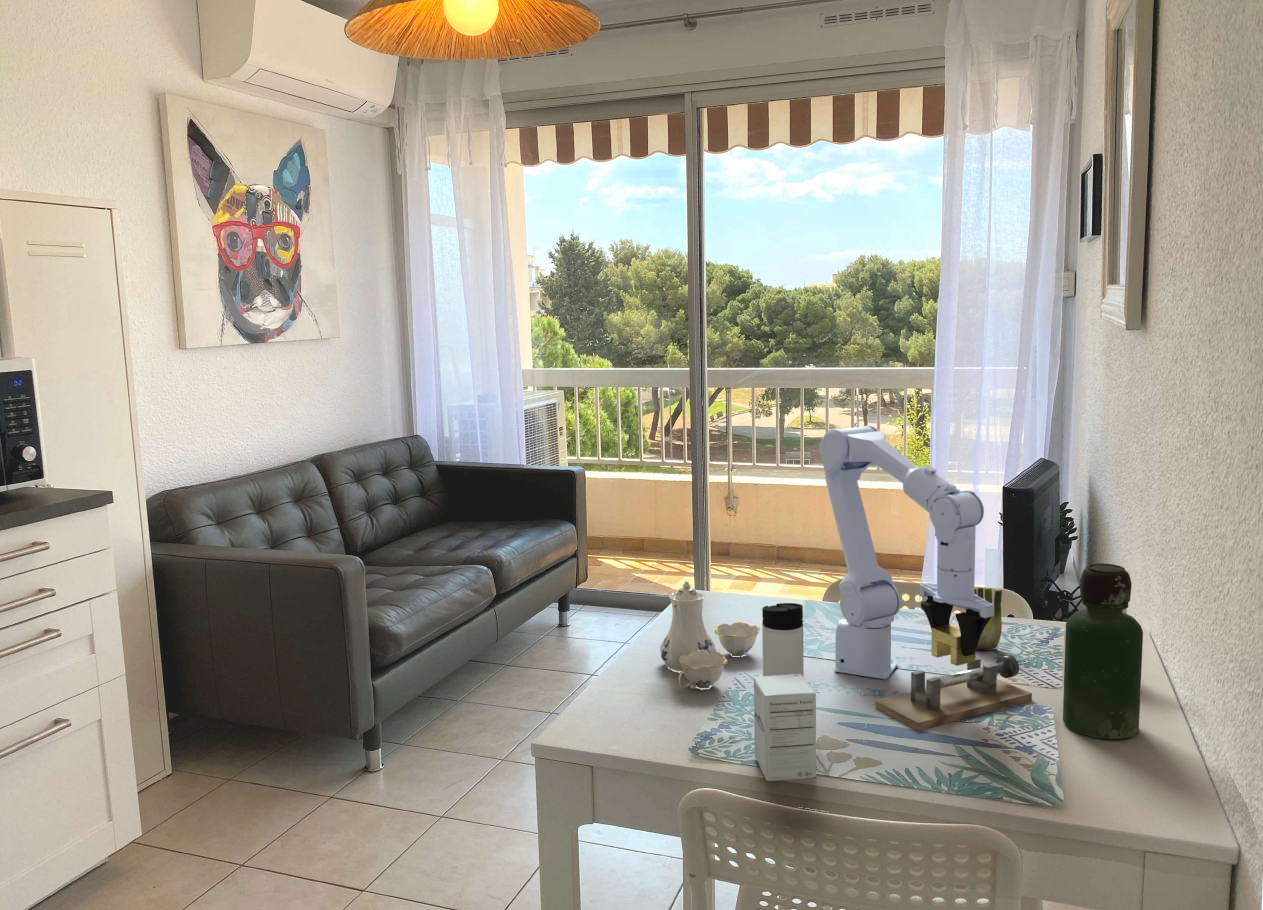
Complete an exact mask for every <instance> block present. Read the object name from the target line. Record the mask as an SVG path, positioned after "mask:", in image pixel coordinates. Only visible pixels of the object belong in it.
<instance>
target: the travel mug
mask: <svg viewBox="0 0 1263 910" xmlns="http://www.w3.org/2000/svg"><path fill="white" fill-rule="evenodd" d="M761 609H762V612H761V613H762V617H761V618H762V623H761V626H762V627H761V632H762V633H761V635H762V637H761V638H762V642H761V643H762V645H761V647H762V676H775V675H788V674H802V676H803V677H804V676H805V675H804V674H805V673H804V665H805V664H804V612H803V611H804V607H803V605H802V604H800V603H795V602H794V603H793V602H780V603H776V604H775V605H774V604H773V605H765V606H763V607H762V608H761ZM804 678H805V677H804Z"/></svg>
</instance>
